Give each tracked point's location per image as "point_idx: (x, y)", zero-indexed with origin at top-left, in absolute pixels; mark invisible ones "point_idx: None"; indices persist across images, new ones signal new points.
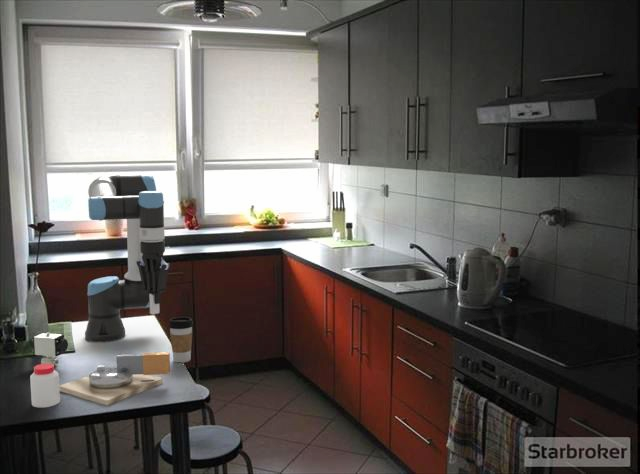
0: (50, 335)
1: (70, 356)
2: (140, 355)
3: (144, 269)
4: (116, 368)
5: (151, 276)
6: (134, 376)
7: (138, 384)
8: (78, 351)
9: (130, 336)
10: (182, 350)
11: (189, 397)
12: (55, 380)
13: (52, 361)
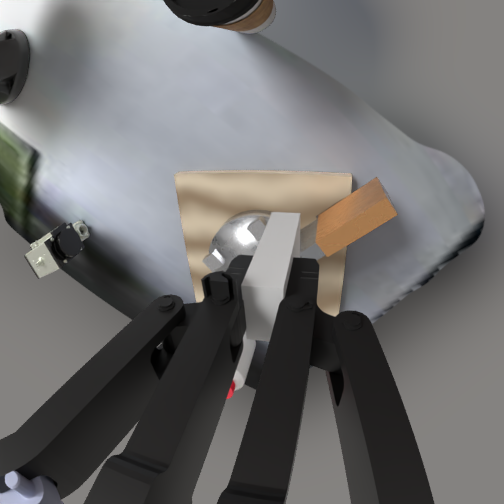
0: (42, 259)
1: (53, 173)
2: (318, 256)
3: (74, 459)
4: (236, 235)
5: (198, 447)
6: (276, 202)
7: None
8: (39, 146)
9: (31, 24)
10: (265, 18)
11: (461, 218)
12: (245, 371)
13: (80, 237)
